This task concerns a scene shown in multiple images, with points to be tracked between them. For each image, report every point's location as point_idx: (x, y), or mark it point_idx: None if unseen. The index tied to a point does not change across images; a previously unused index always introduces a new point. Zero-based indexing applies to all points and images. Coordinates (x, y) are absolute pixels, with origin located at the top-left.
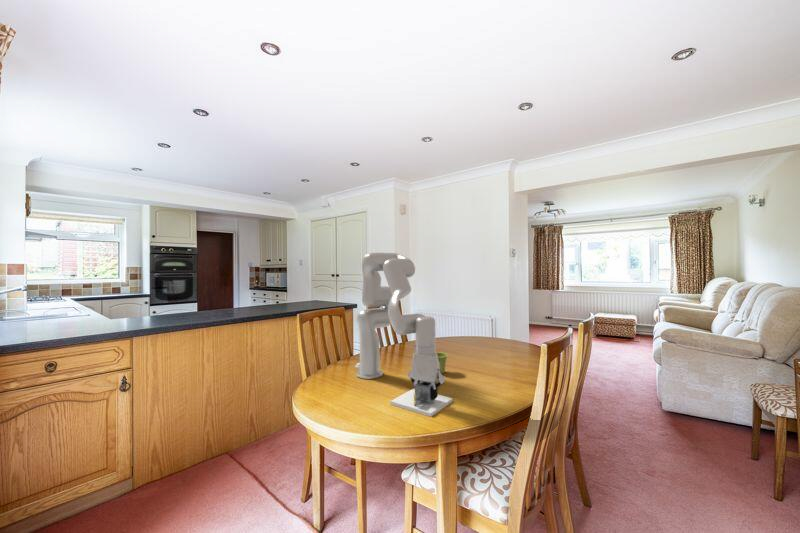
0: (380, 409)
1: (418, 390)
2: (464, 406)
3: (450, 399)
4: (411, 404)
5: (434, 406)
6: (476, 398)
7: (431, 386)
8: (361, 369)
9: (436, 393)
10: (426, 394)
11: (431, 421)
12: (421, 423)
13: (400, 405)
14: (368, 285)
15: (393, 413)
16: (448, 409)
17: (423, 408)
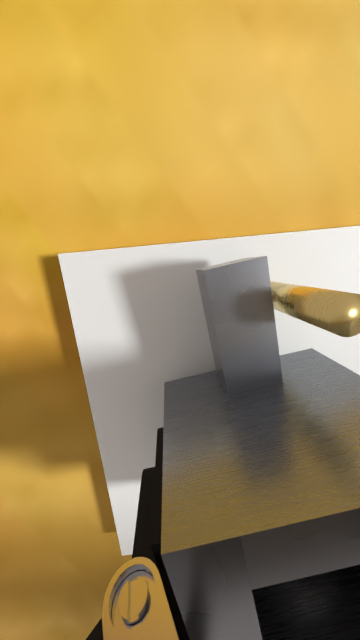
0: None
1: (353, 415)
2: (24, 523)
3: (120, 535)
4: (302, 285)
5: (127, 380)
6: (51, 630)
7: (180, 609)
8: None
9: (143, 514)
10: (213, 420)
11: (10, 189)
12: (41, 92)
13: None
14: None
15: (355, 85)
16: (66, 432)
17: (172, 290)
